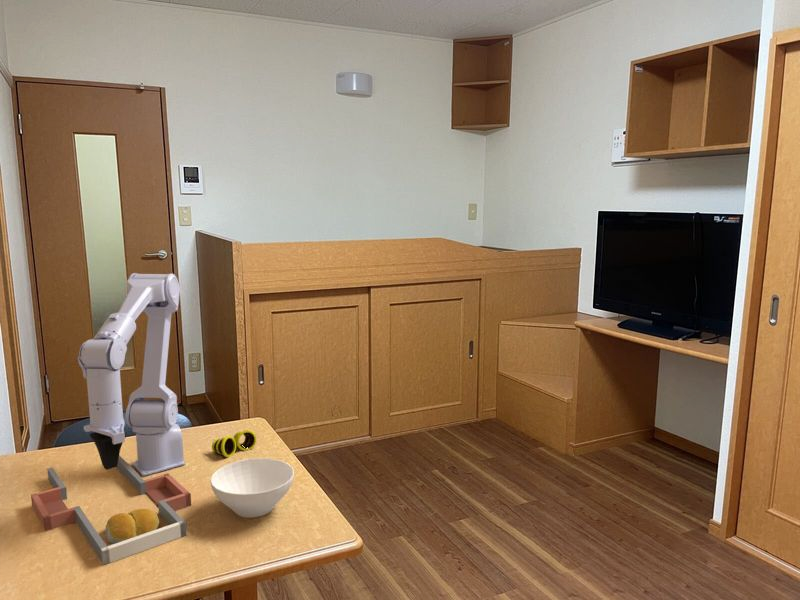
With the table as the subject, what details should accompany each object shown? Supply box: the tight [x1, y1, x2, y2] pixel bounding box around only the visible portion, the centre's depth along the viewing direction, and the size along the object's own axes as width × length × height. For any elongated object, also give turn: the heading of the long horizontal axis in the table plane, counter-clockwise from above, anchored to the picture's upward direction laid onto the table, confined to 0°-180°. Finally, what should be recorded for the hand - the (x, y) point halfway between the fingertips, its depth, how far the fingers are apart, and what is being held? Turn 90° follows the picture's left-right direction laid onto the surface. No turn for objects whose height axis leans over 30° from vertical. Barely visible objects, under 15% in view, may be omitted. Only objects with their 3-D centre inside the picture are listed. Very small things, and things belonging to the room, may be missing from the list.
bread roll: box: [104, 508, 160, 545], centre depth 110 cm, size 8×9×4 cm
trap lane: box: [30, 454, 192, 566], centre depth 119 cm, size 24×41×2 cm, turn 41°
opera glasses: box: [211, 429, 257, 458], centre depth 146 cm, size 10×5×5 cm, turn 139°
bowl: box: [210, 457, 295, 519], centre depth 118 cm, size 16×16×7 cm
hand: (110, 467), depth 117 cm, fingers closed
